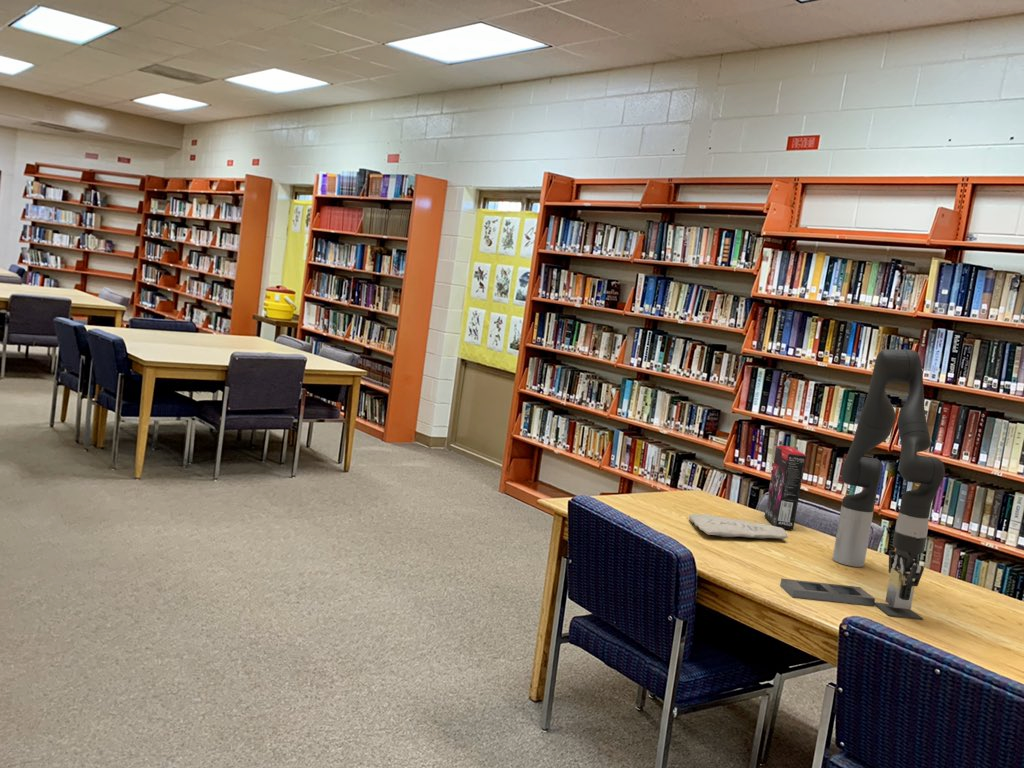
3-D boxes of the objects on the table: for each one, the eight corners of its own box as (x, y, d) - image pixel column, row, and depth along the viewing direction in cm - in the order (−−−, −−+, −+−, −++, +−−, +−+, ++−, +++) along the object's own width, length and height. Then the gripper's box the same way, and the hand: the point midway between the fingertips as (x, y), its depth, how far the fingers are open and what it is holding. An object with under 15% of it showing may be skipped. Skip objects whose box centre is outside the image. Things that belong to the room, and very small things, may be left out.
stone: (702, 540, 273) (796, 550, 273) (705, 524, 272) (798, 535, 273) (685, 521, 298) (770, 531, 299) (687, 507, 297) (772, 517, 298)
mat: (872, 603, 228) (872, 602, 228) (905, 607, 228) (905, 605, 228) (888, 616, 219) (888, 614, 219) (922, 619, 219) (922, 618, 219)
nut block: (885, 601, 226) (891, 567, 225) (902, 602, 226) (907, 569, 225) (893, 607, 221) (899, 573, 220) (910, 609, 221) (916, 575, 220)
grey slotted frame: (780, 585, 234) (781, 578, 233) (858, 594, 235) (860, 587, 235) (792, 597, 225) (793, 589, 224) (873, 606, 226) (875, 598, 226)
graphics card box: (763, 516, 317) (774, 444, 314) (781, 519, 316) (793, 446, 314) (775, 529, 300) (787, 452, 297) (795, 531, 299) (807, 454, 297)
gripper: (883, 523, 228) (873, 585, 230) (910, 538, 214) (899, 604, 216) (911, 526, 229) (900, 588, 231) (939, 541, 215) (927, 607, 216)
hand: (899, 595), depth 223 cm, fingers closed on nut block, 4 cm apart
